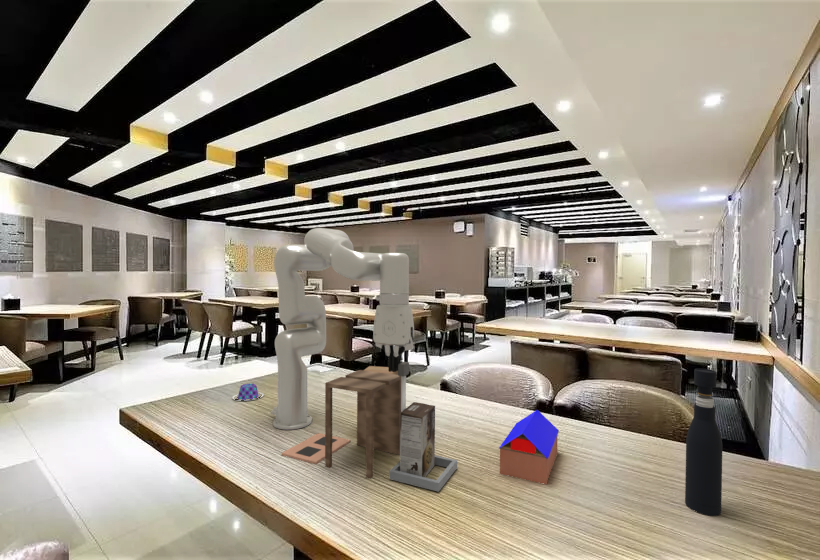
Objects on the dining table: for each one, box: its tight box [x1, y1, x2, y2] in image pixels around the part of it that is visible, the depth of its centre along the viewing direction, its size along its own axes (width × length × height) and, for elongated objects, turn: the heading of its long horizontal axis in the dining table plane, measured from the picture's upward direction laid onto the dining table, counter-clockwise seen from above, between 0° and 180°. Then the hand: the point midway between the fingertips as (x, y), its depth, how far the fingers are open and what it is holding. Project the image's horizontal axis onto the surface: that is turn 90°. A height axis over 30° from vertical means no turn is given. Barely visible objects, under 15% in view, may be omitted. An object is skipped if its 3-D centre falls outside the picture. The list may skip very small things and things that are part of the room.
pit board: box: [280, 432, 351, 465], centre depth 117 cm, size 12×16×1 cm
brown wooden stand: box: [324, 369, 401, 480], centre depth 110 cm, size 14×16×22 cm
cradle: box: [388, 361, 458, 492], centre depth 102 cm, size 13×13×27 cm
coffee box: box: [399, 401, 436, 478], centre depth 104 cm, size 9×6×16 cm
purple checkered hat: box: [231, 383, 265, 402], centre depth 165 cm, size 12×12×5 cm
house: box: [498, 409, 560, 485], centre depth 109 cm, size 12×20×12 cm, turn 153°
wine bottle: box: [684, 368, 723, 517], centre depth 88 cm, size 6×6×30 cm
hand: (394, 370), depth 106 cm, fingers closed
